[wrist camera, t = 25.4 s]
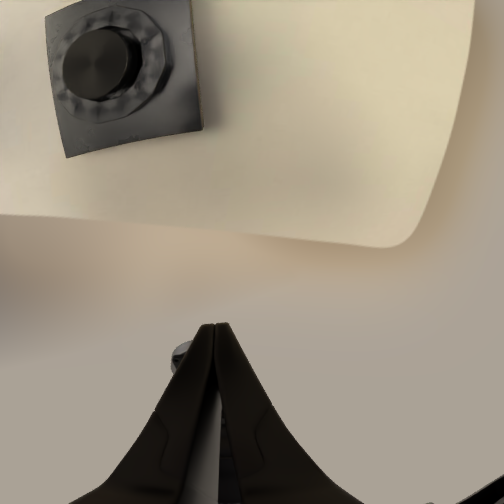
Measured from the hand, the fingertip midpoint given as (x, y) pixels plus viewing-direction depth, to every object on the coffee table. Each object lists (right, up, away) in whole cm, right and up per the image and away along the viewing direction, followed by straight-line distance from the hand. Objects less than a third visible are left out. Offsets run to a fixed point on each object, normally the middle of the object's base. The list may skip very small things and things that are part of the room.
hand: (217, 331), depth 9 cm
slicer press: (-7, +14, +5) cm, 16 cm away
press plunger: (-6, +12, +2) cm, 14 cm away
